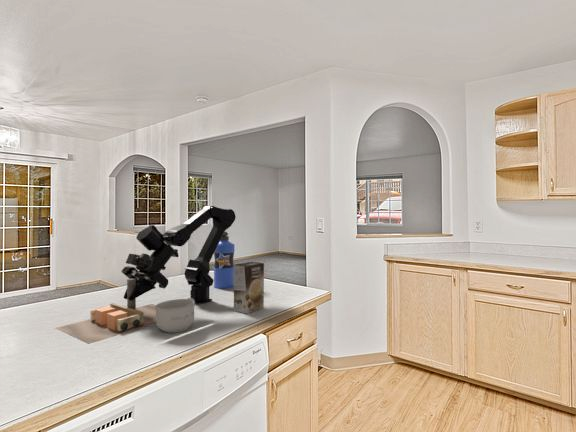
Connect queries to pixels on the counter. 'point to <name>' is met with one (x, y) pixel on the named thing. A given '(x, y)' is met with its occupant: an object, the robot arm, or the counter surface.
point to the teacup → (175, 315)
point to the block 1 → (102, 315)
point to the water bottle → (224, 264)
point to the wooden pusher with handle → (126, 310)
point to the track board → (105, 327)
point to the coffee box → (248, 287)
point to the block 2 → (115, 318)
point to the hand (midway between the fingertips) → (127, 299)
